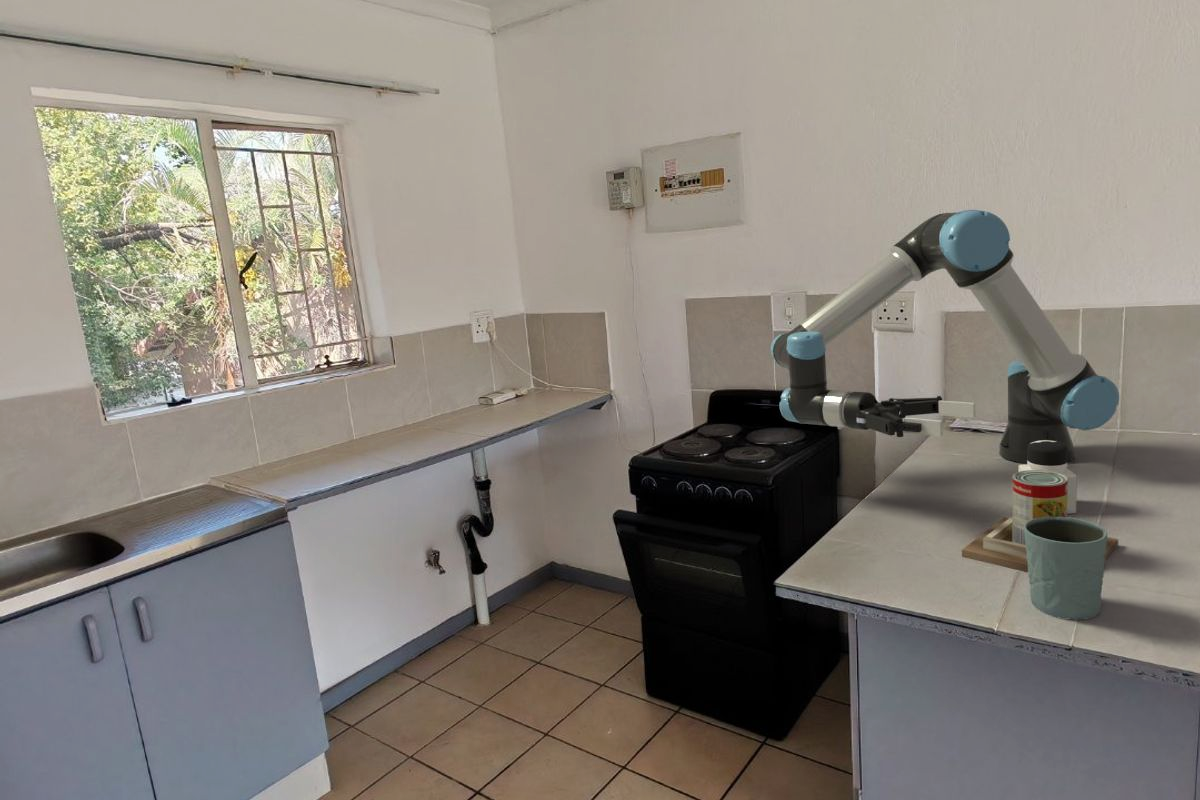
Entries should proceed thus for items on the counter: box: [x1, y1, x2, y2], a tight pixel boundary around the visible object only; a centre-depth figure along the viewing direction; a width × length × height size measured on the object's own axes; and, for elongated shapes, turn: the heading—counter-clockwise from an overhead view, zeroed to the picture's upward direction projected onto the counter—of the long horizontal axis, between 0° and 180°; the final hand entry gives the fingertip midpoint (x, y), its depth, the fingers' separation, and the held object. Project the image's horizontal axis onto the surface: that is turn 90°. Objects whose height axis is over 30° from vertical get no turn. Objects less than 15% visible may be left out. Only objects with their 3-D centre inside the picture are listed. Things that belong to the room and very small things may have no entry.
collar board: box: [961, 515, 1119, 573], centre depth 125 cm, size 18×18×3 cm
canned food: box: [1012, 470, 1068, 545], centre depth 124 cm, size 8×8×12 cm
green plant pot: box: [1024, 516, 1108, 620], centre depth 107 cm, size 10×10×12 cm
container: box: [1018, 440, 1078, 515], centre depth 141 cm, size 8×8×13 cm
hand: (958, 419), depth 133 cm, fingers open, 13 cm apart
